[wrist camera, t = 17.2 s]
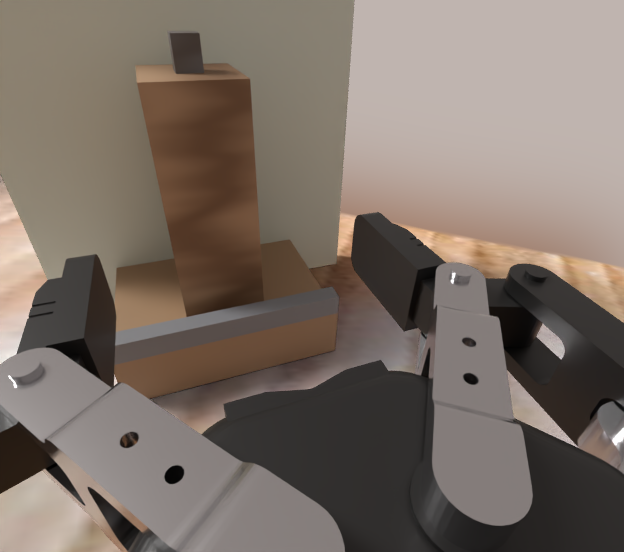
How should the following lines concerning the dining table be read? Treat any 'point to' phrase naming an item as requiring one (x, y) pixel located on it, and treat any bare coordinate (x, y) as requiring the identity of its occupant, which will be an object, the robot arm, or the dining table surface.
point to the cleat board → (143, 180)
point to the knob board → (205, 174)
